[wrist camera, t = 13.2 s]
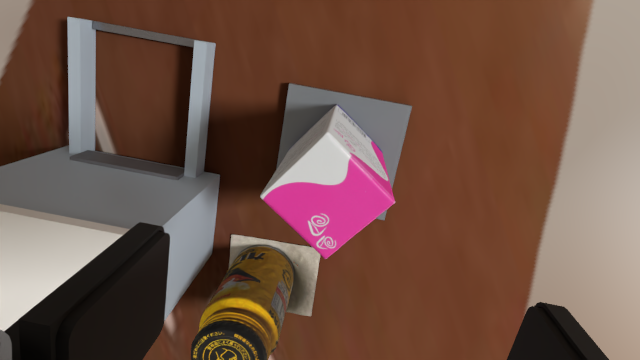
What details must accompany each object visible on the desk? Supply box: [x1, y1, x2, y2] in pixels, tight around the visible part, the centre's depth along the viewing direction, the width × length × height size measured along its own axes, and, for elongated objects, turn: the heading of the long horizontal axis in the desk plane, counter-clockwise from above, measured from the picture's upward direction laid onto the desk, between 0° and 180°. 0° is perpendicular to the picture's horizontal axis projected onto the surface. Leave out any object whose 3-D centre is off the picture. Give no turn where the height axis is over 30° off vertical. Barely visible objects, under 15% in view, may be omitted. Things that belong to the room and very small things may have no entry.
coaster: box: [276, 83, 412, 220], centre depth 34 cm, size 10×10×1 cm
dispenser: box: [0, 17, 220, 331], centre depth 29 cm, size 19×14×14 cm
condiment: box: [191, 235, 320, 360], centre depth 33 cm, size 7×8×12 cm
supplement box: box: [260, 104, 395, 259], centre depth 28 cm, size 6×6×12 cm
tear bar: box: [92, 21, 200, 47], centre depth 33 cm, size 1×9×1 cm, turn 80°
